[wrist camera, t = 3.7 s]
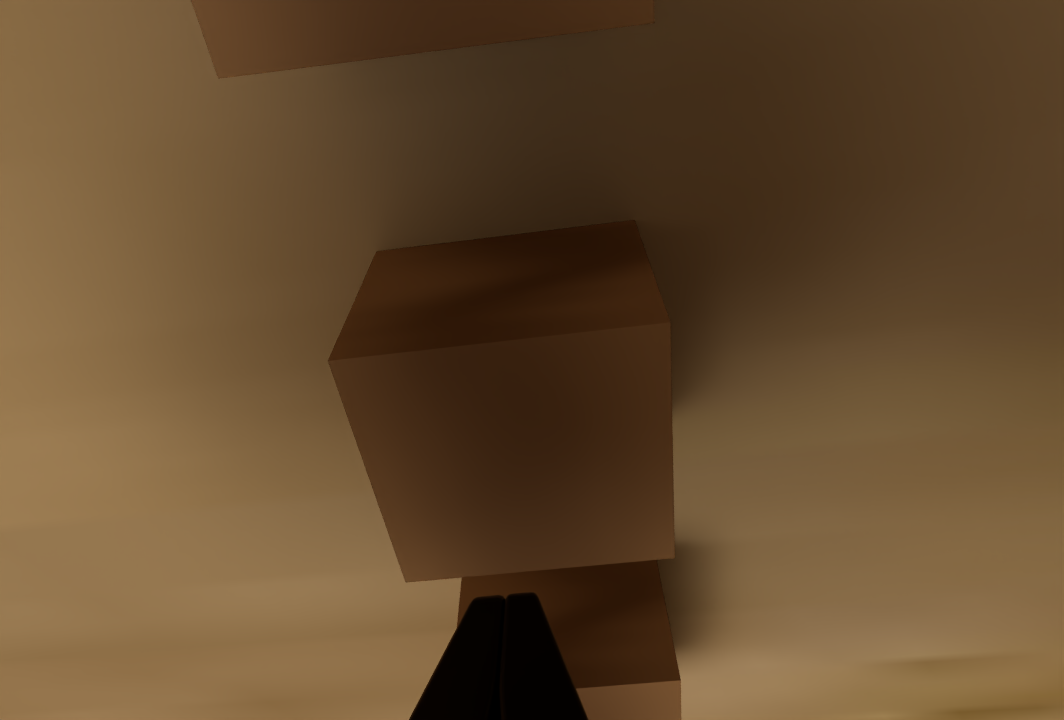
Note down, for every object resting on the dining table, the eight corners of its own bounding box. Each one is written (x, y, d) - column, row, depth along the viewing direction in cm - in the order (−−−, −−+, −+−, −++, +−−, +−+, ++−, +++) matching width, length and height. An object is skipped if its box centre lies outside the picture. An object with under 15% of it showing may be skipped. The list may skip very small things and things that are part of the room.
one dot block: (651, 536, 18) (682, 689, 14) (656, 650, 21) (683, 801, 17) (463, 554, 18) (449, 707, 15) (493, 663, 21) (487, 815, 17)
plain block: (633, 217, 13) (669, 322, 10) (643, 420, 16) (674, 558, 12) (377, 248, 13) (328, 360, 10) (430, 443, 16) (405, 582, 13)
